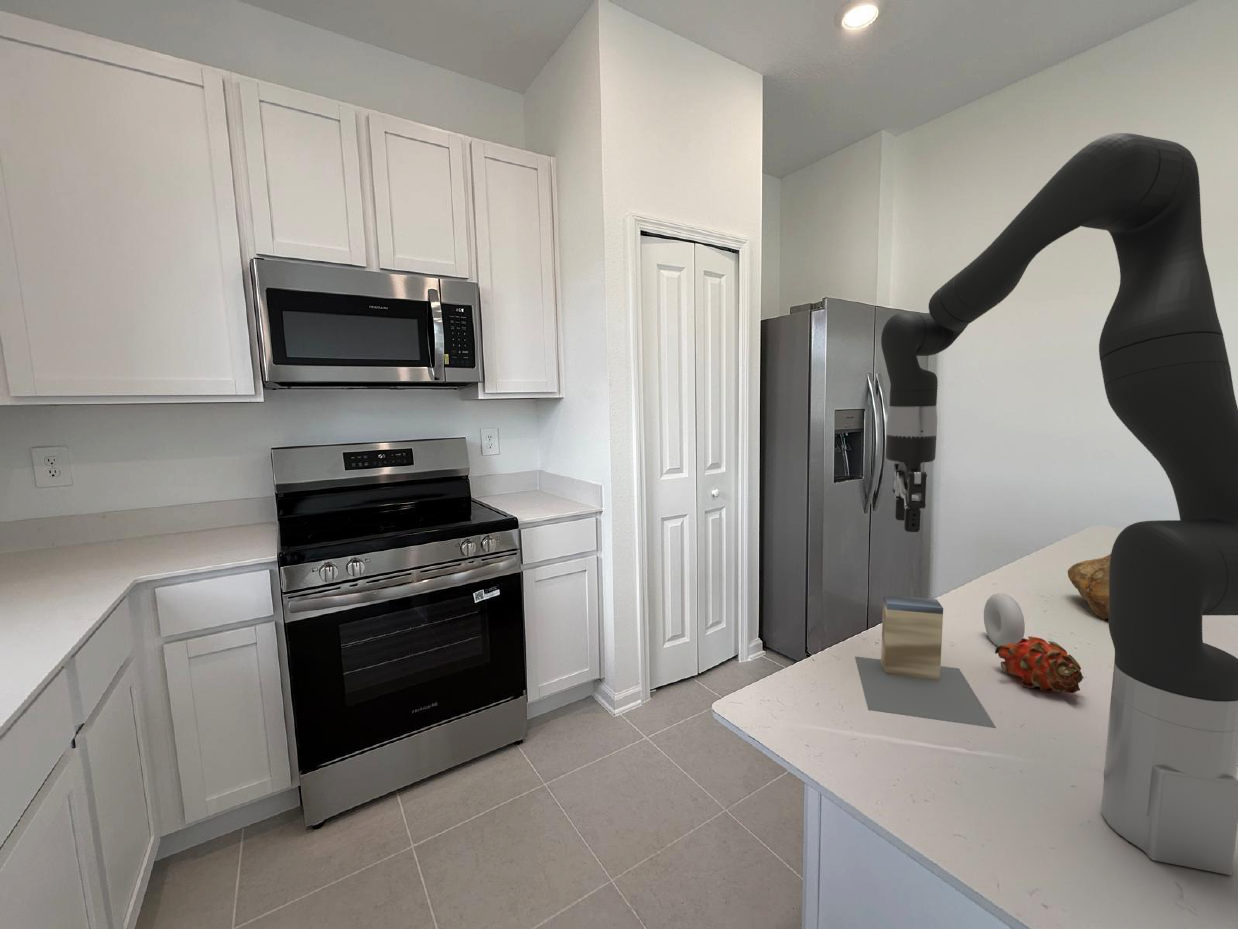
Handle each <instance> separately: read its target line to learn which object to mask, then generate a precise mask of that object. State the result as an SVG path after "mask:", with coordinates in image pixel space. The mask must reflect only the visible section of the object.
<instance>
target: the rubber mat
mask: <svg viewBox="0 0 1238 929" xmlns="http://www.w3.org/2000/svg"><path fill="white" fill-rule="evenodd" d="M854 658H855V662H856V666H857V670H858V674H859V678H860V682H861V686H862V689H863V694H864V698H865V702H866V706H867V710H868V711H874V712H880V713H887V714H892V715H893V714H894V715H902V716H907V717H908V716H910V717H913V718H923V719H930V720H937V721H943V722H950V723H957V724H965V725H971V726H980V727H985V728H986V727H987V728H994V729H996V728H997V727H996V725H995V723H994V722H993V720H992V719H991V717H990V715H989V714H988V712H987V711H986V709H985V708H984V707H983V704H982V703H981V701H980V700H979V698H978V696H977V695H976V693H975V691H974V689H972V687H971V685H970V683H968V680H967V679H966V677H965V676H964V674H963V673H962V671H961V669H960V668H958V667H950V666H942V665H940V680H936V679H927V678H919V677H911V676H903V675H894V674H886V673H885V672H884V670H883V667H882V664H881V658H874V657H873V658H871V657H865V656H864V657H863V656H861V657H860V656H855V657H854Z"/></svg>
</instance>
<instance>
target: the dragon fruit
mask: <svg viewBox="0 0 1238 929" xmlns="http://www.w3.org/2000/svg"><path fill="white" fill-rule="evenodd" d="M993 652H994V654H995V655H996V654H997V655H998V658H1000V659H1003V661H1000V667H1001V669H1002V672H1003V673H1004V674H1009V675H1012V676H1013V675H1014V676H1018V677H1019V678H1020V679H1021V682H1020V683H1021V686H1022V687H1025V688H1028V689H1035V687H1038V688H1039V689H1040V691H1041V692H1043V691H1044V692H1045V691H1046V692H1047V693H1049V694H1051V693H1062V692H1065V693H1070V694H1074V693H1077V692H1080V691H1081V689H1080V686H1079V685H1080V683H1081V682H1082V681H1083V679H1084V678H1085V677H1084V675H1083V674H1082V671H1081V670H1082V667H1081V665H1080V664H1079V662H1078V661H1077V659H1075V657H1074V656H1073V655H1071V654H1068V652H1067V650H1066V649H1064V647H1062V646H1061V645H1060V644H1058V643H1057V642H1055V641H1051V640H1048V641H1047V640H1045V639H1043V638H1041V637H1037V636H1028V637H1027V638H1025V637H1024V638H1023V639H1021V641H1020V642H1018V643H1016V644H1015V643H1010V644H1007V645H1001V646H999V647H998V646H997V647H996V648H995V649H994V651H991V653H993Z"/></svg>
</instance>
